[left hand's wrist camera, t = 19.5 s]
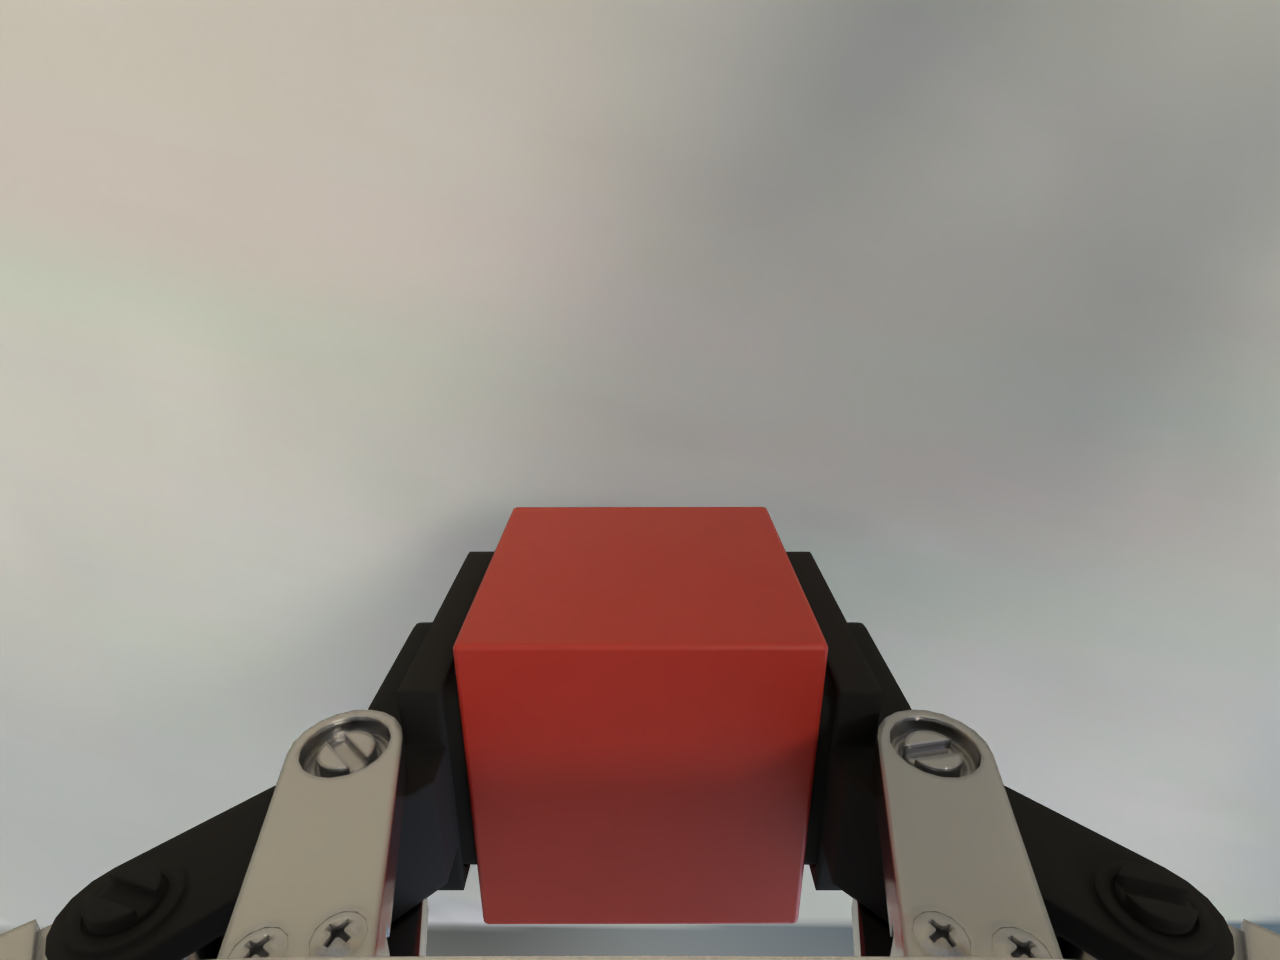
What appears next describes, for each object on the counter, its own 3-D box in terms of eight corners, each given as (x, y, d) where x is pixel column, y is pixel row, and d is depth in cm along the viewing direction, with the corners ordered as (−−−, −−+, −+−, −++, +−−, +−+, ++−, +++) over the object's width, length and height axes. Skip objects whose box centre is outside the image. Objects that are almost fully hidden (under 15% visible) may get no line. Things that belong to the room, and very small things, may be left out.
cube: (528, 720, 13) (483, 927, 9) (513, 505, 12) (449, 646, 8) (751, 720, 13) (798, 926, 9) (766, 504, 12) (830, 645, 8)
